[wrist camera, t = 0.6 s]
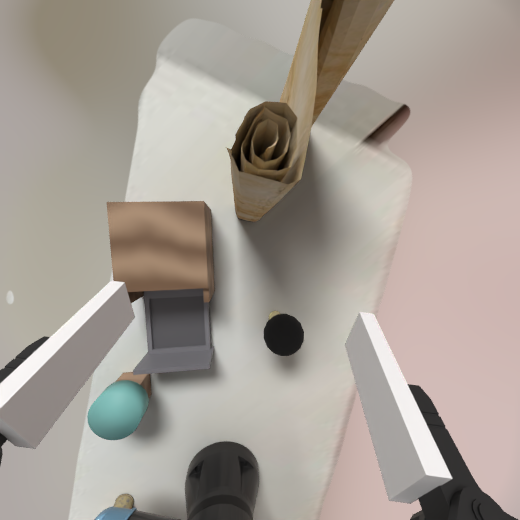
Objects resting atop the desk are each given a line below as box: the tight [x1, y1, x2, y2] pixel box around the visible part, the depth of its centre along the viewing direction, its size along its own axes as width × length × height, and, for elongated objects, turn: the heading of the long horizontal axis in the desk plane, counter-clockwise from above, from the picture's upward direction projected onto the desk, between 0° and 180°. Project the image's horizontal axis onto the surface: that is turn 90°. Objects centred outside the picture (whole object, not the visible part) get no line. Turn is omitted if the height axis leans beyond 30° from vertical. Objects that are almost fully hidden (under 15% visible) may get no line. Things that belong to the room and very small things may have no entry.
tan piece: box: [226, 0, 394, 222], centre depth 29 cm, size 23×6×30 cm, turn 151°
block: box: [116, 372, 151, 399], centre depth 42 cm, size 5×5×5 cm
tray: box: [133, 288, 214, 375], centre depth 40 cm, size 18×13×6 cm
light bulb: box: [264, 311, 304, 356], centre depth 40 cm, size 7×7×12 cm
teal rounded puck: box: [88, 380, 149, 440], centre depth 38 cm, size 8×8×4 cm
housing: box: [107, 201, 215, 303], centre depth 39 cm, size 16×14×9 cm
